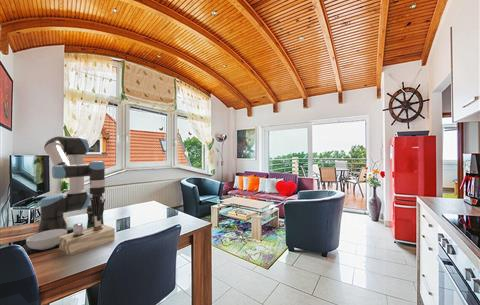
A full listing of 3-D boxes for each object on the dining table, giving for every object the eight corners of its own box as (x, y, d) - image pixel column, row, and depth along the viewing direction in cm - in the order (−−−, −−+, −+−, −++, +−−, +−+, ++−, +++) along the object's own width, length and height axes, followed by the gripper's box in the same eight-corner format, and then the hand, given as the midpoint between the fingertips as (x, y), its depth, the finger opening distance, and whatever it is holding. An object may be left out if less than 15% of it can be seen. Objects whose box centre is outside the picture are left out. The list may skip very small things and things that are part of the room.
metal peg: (72, 237, 114) (72, 225, 114) (80, 235, 117) (80, 222, 117) (75, 239, 112) (75, 226, 112) (83, 236, 115) (83, 224, 115)
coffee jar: (86, 236, 130) (86, 207, 130) (86, 232, 137) (85, 204, 136) (105, 232, 137) (104, 204, 136) (103, 228, 143) (103, 202, 143)
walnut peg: (92, 238, 123) (92, 226, 123) (99, 236, 126) (99, 224, 126) (95, 239, 121) (95, 228, 121) (103, 237, 124) (103, 225, 124)
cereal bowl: (63, 237, 128) (63, 226, 128) (70, 245, 118) (70, 233, 118) (24, 247, 115) (24, 235, 115) (27, 257, 105) (27, 243, 105)
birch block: (59, 249, 113) (59, 236, 113) (102, 235, 132) (102, 224, 132) (70, 255, 106) (70, 242, 106) (114, 239, 125) (114, 228, 125)
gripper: (84, 186, 123) (85, 226, 123) (95, 188, 117) (96, 230, 117) (98, 185, 130) (99, 222, 130) (109, 186, 123) (110, 225, 123)
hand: (97, 225), depth 123 cm, fingers closed
